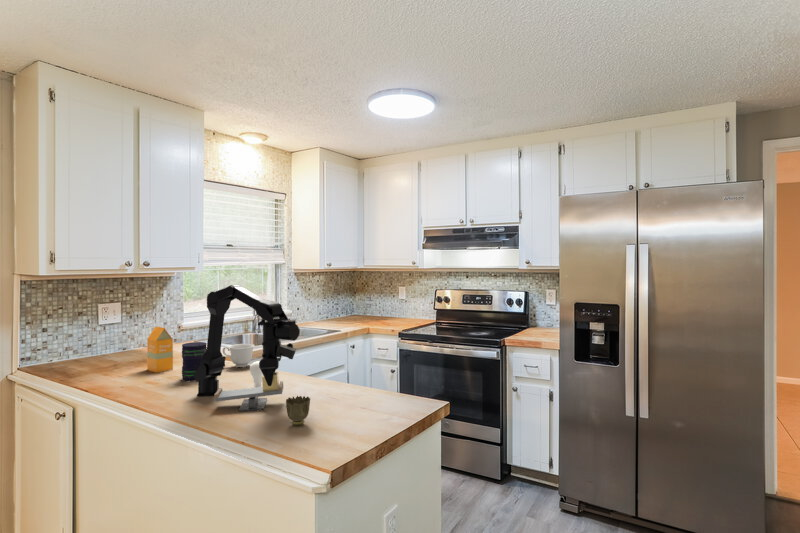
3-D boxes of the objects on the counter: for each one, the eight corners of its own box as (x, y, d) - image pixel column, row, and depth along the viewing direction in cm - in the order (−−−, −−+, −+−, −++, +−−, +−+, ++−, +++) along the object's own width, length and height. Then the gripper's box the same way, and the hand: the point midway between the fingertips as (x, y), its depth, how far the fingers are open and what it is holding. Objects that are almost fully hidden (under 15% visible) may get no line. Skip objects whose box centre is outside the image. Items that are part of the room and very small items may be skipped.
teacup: (226, 363, 219) (226, 343, 219) (257, 363, 221) (257, 343, 221) (218, 369, 207) (219, 348, 207) (251, 369, 209) (251, 347, 209)
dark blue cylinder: (176, 380, 189) (176, 345, 189) (194, 374, 198) (194, 341, 198) (193, 382, 185) (193, 346, 185) (211, 376, 194) (211, 343, 194)
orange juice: (163, 366, 213) (163, 325, 213) (173, 369, 208) (173, 327, 208) (146, 369, 207) (146, 327, 207) (156, 372, 202) (155, 328, 202)
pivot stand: (238, 411, 149) (238, 401, 149) (244, 400, 160) (244, 390, 160) (263, 410, 150) (263, 399, 150) (267, 399, 162) (267, 389, 162)
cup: (287, 420, 140) (287, 395, 140) (311, 420, 141) (311, 395, 141) (283, 429, 133) (283, 402, 133) (308, 428, 133) (308, 402, 133)
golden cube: (263, 391, 153) (262, 377, 153) (264, 387, 158) (263, 373, 158) (277, 389, 154) (276, 375, 154) (278, 385, 159) (278, 372, 159)
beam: (214, 401, 149) (214, 394, 149) (219, 394, 157) (219, 388, 157) (281, 393, 153) (281, 387, 153) (283, 387, 161) (283, 381, 161)
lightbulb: (268, 387, 178) (269, 360, 178) (259, 391, 172) (259, 363, 172) (256, 386, 180) (256, 359, 180) (246, 390, 174) (246, 362, 174)
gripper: (293, 342, 149) (293, 388, 149) (295, 333, 167) (295, 374, 167) (259, 343, 147) (258, 390, 147) (264, 334, 165) (264, 376, 165)
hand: (271, 382), depth 156 cm, fingers open, 9 cm apart
